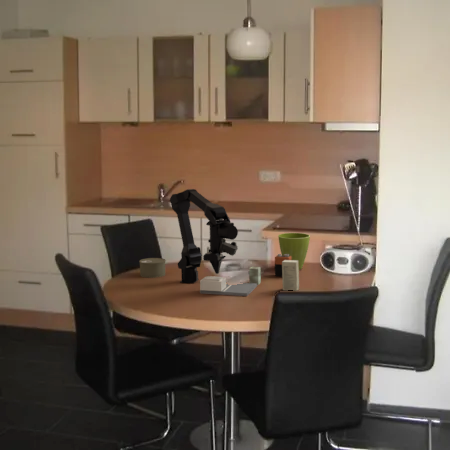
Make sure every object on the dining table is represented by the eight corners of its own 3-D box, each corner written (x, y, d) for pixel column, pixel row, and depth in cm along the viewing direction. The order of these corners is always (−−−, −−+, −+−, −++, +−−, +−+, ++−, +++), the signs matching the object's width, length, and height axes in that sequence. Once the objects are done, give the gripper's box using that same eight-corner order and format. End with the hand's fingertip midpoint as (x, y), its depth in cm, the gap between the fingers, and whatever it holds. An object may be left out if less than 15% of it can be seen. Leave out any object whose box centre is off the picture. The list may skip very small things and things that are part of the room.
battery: (289, 277, 301) (289, 255, 299) (274, 276, 303) (274, 254, 302) (291, 275, 305) (291, 253, 303) (277, 274, 307) (277, 252, 306)
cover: (200, 290, 274) (200, 279, 273) (205, 286, 281) (205, 275, 280) (221, 291, 272) (221, 280, 271) (226, 287, 278) (226, 276, 277)
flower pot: (311, 271, 311) (311, 238, 309) (279, 272, 312) (279, 238, 309) (307, 265, 326) (308, 232, 324) (277, 265, 326) (277, 233, 324)
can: (170, 275, 309) (170, 260, 308) (147, 279, 302) (146, 264, 301) (158, 271, 318) (157, 256, 317) (135, 274, 312) (134, 259, 311)
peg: (249, 284, 289) (249, 268, 288) (251, 282, 293) (251, 266, 292) (258, 284, 288) (258, 269, 287) (260, 282, 292) (260, 267, 291)
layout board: (199, 293, 275) (199, 290, 275) (212, 283, 291) (212, 280, 291) (247, 296, 270) (246, 293, 269) (257, 286, 286) (256, 283, 286)
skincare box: (299, 288, 280) (299, 260, 278) (297, 291, 276) (297, 262, 274) (284, 287, 282) (284, 259, 280) (281, 290, 278) (281, 261, 276)
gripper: (229, 241, 267) (229, 279, 269) (241, 233, 284) (241, 269, 287) (202, 240, 270) (203, 278, 272) (216, 232, 288) (216, 268, 290)
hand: (217, 273), depth 280 cm, fingers closed
